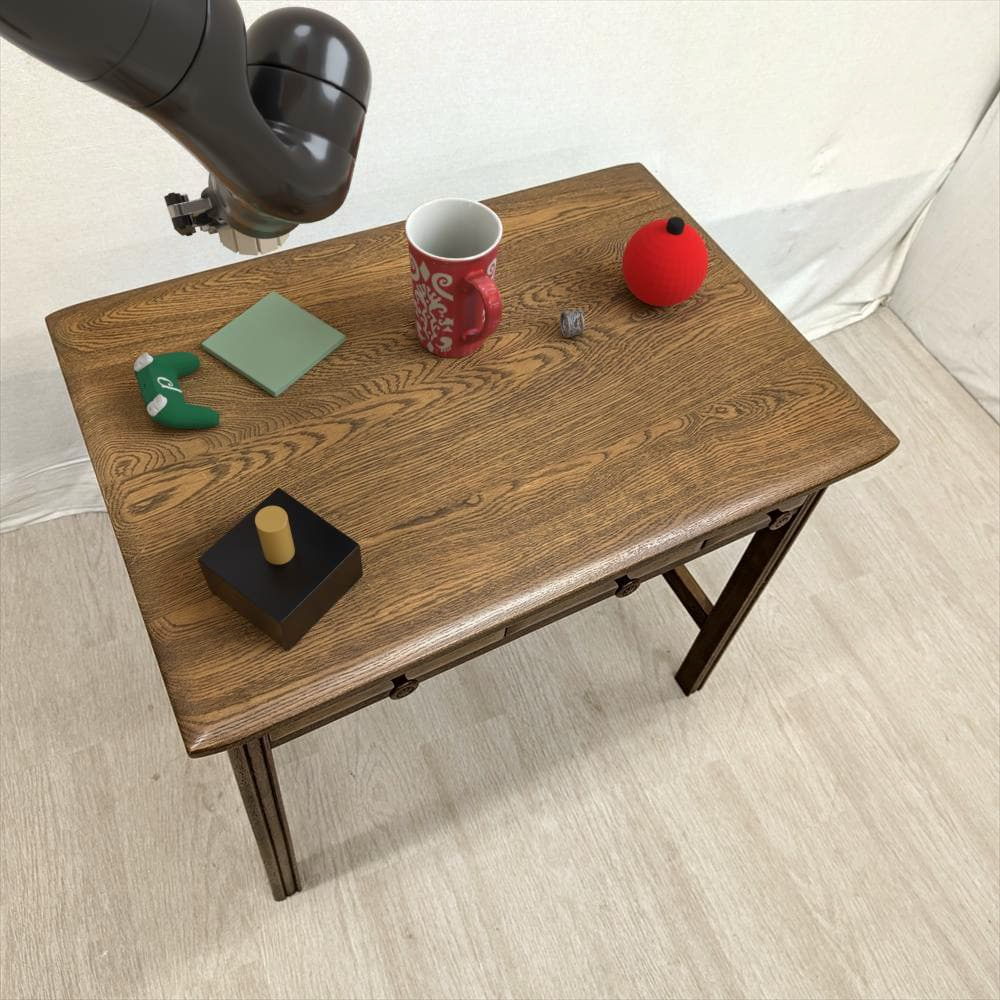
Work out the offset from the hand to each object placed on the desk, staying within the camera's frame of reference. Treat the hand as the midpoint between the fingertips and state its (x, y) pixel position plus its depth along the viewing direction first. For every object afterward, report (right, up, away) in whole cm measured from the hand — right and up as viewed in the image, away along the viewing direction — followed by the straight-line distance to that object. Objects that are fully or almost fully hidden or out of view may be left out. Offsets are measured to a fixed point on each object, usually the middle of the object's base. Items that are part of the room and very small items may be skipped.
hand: (247, 213), depth 79 cm
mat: (0, -10, +11) cm, 15 cm away
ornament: (+39, -3, +20) cm, 44 cm away
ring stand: (+4, -32, -4) cm, 33 cm away
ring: (+1, -2, 0) cm, 2 cm away
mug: (+18, -9, +13) cm, 24 cm away
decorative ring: (+30, -8, +15) cm, 34 cm away
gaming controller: (-8, -16, +6) cm, 19 cm away
